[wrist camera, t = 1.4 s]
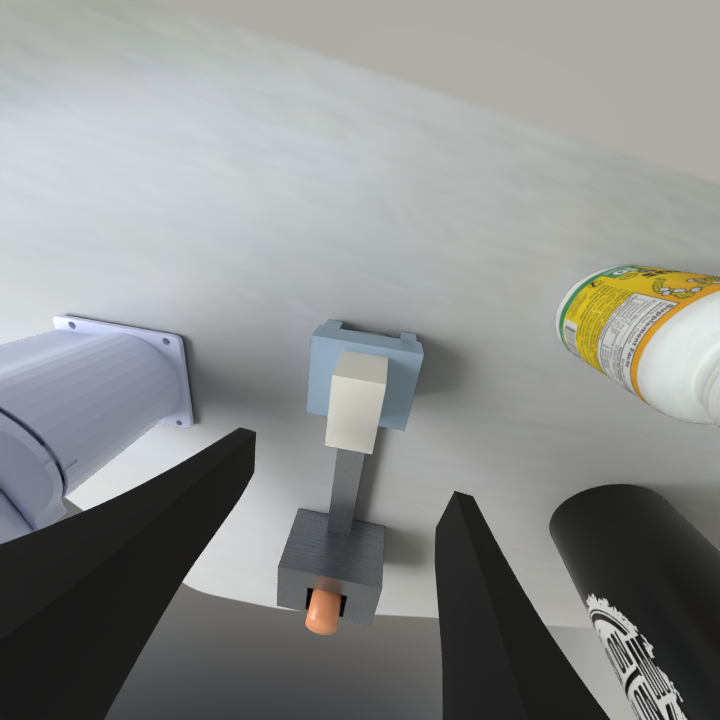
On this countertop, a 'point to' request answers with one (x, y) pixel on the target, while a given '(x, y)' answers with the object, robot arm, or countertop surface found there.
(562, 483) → the countertop surface
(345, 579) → the cabinet
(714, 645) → the water bottle
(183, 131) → the countertop surface
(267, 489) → the countertop surface
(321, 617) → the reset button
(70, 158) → the countertop surface
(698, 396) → the supplement bottle
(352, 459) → the rail
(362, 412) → the carriage
